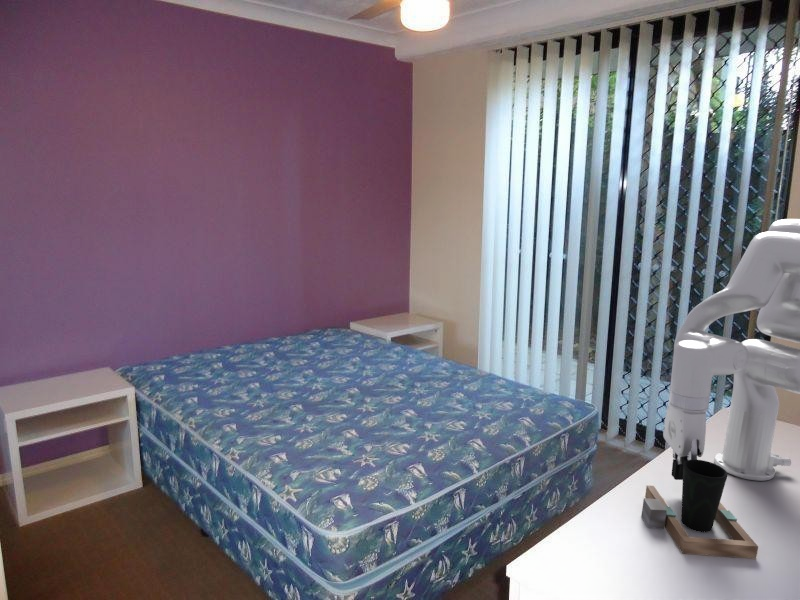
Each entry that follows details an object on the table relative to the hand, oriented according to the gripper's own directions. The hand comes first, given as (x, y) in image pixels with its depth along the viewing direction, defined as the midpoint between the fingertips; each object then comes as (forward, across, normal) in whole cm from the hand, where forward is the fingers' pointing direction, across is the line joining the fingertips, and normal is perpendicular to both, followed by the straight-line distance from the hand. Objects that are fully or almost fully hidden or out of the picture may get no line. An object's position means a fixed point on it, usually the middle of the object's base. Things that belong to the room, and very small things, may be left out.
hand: (680, 477), depth 125 cm
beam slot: (+3, +12, -3) cm, 13 cm away
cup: (+3, +12, -1) cm, 12 cm away
